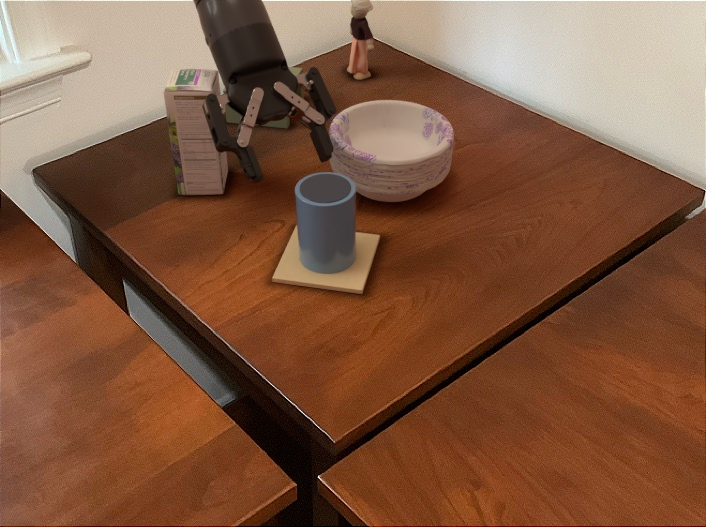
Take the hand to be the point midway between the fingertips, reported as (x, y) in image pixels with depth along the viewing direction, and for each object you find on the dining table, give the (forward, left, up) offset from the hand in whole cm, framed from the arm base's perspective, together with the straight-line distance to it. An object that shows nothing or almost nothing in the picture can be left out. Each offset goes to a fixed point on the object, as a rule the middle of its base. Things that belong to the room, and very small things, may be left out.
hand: (293, 170), depth 91 cm
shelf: (-12, +27, -8) cm, 31 cm away
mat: (+5, -5, -8) cm, 11 cm away
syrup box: (-14, +7, -8) cm, 18 cm away
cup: (+5, -5, -8) cm, 10 cm away
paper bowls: (+9, +12, -8) cm, 17 cm away
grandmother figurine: (-1, +41, -8) cm, 42 cm away
